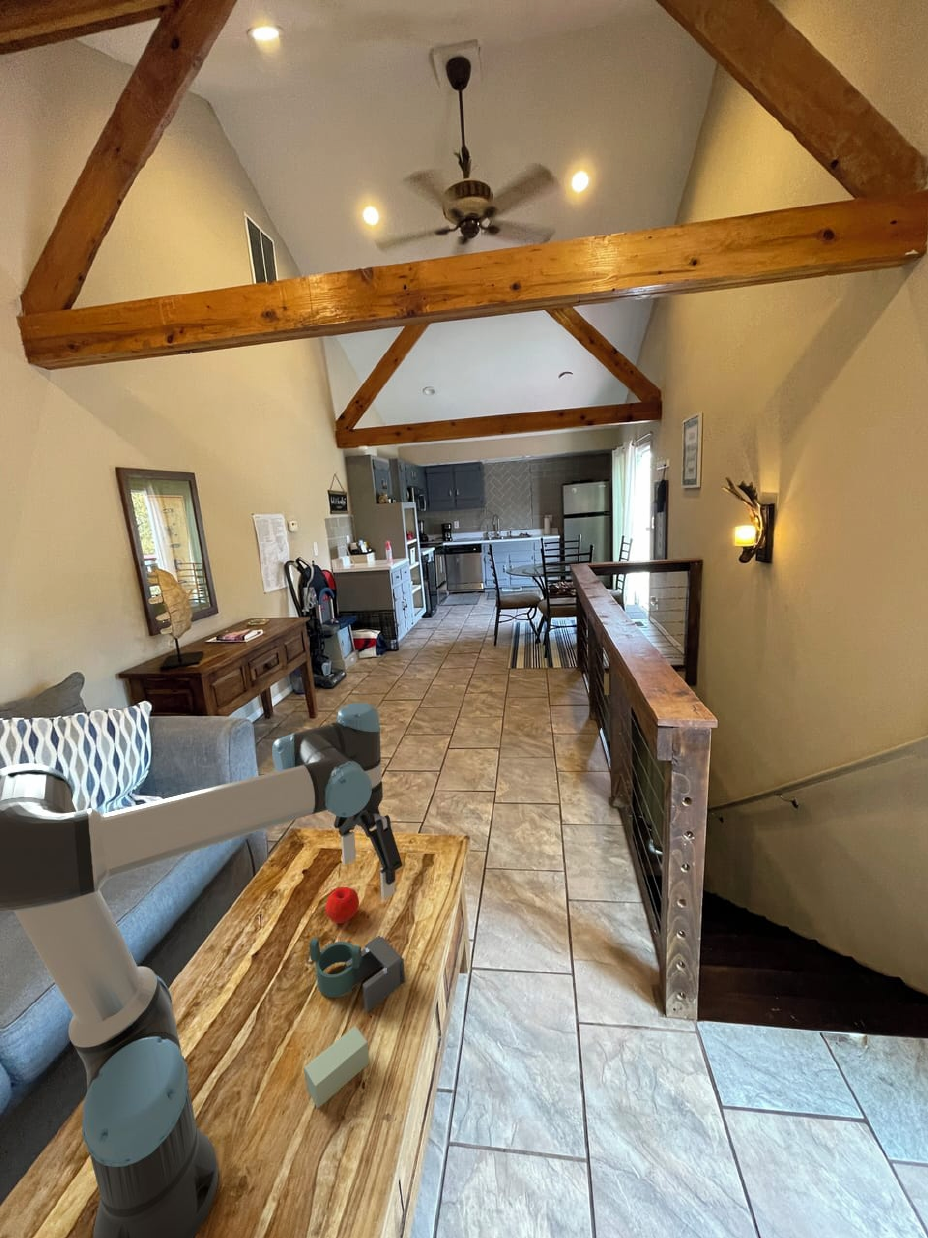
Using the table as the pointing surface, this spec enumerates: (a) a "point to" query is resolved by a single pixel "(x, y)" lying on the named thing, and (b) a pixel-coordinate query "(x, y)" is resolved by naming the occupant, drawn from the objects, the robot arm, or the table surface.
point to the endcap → (384, 980)
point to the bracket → (330, 955)
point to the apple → (342, 904)
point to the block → (336, 1066)
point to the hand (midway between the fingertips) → (368, 878)
